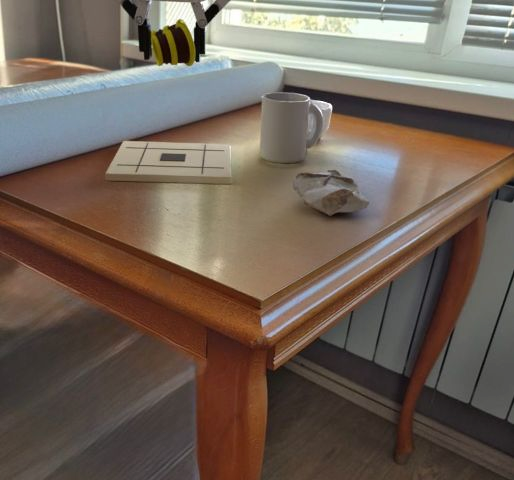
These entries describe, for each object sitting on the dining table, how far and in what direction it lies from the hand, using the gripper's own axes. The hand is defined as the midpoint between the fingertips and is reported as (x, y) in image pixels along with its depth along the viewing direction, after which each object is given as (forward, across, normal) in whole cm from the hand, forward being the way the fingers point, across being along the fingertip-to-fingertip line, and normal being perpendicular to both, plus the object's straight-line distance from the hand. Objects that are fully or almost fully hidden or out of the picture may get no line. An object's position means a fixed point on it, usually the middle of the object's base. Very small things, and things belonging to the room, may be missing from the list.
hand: (172, 58), depth 80 cm
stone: (+15, +20, -12) cm, 28 cm away
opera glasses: (+1, 0, 0) cm, 1 cm away
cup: (+15, +17, +8) cm, 24 cm away
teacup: (+15, +21, +20) cm, 33 cm away
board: (+15, -1, +2) cm, 15 cm away
